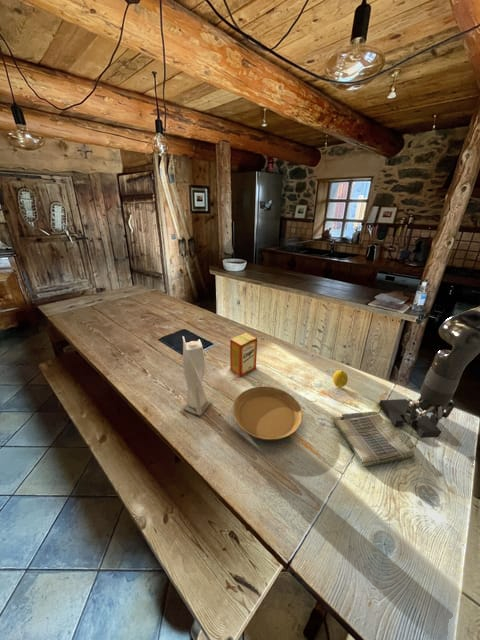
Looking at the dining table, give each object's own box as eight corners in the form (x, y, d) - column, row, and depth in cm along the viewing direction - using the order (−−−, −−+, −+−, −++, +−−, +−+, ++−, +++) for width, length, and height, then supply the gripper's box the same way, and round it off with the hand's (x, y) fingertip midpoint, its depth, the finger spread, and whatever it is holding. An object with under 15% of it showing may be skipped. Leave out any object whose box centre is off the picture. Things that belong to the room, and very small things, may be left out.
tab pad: (416, 411, 91) (418, 406, 90) (438, 437, 82) (441, 431, 81) (399, 412, 91) (401, 406, 90) (420, 438, 81) (423, 432, 80)
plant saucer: (300, 453, 81) (301, 445, 79) (224, 437, 86) (224, 429, 84) (302, 398, 102) (303, 392, 100) (241, 388, 107) (241, 381, 105)
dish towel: (415, 458, 80) (418, 451, 78) (362, 469, 76) (364, 461, 75) (375, 412, 96) (377, 406, 95) (330, 419, 93) (331, 413, 91)
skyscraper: (180, 408, 97) (173, 342, 84) (193, 394, 103) (188, 331, 91) (200, 416, 93) (195, 348, 81) (212, 401, 100) (209, 336, 88)
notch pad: (404, 404, 100) (406, 398, 99) (422, 425, 91) (424, 419, 90) (378, 405, 99) (380, 400, 98) (394, 426, 90) (396, 421, 89)
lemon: (346, 385, 109) (350, 369, 106) (344, 393, 105) (347, 376, 102) (333, 380, 112) (336, 365, 108) (329, 388, 108) (333, 372, 104)
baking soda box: (240, 376, 113) (240, 344, 106) (230, 369, 118) (230, 338, 111) (255, 368, 119) (257, 337, 112) (246, 361, 123) (246, 331, 116)
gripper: (425, 394, 74) (407, 436, 81) (473, 392, 75) (451, 434, 82) (408, 377, 80) (393, 418, 88) (452, 375, 81) (434, 416, 89)
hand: (421, 425), depth 85 cm, fingers closed on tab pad, 6 cm apart
